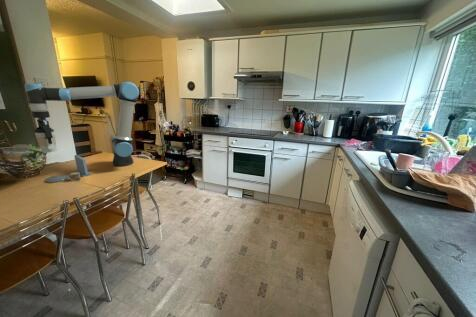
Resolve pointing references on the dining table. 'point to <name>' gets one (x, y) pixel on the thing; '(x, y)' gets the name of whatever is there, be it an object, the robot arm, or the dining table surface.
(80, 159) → the screen
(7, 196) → the dining table surface
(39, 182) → the dining table surface
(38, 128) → the coffee cup
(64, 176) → the coaster
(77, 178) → the letter block
